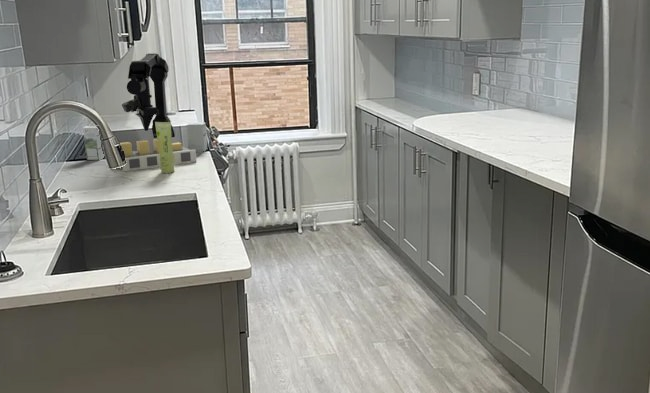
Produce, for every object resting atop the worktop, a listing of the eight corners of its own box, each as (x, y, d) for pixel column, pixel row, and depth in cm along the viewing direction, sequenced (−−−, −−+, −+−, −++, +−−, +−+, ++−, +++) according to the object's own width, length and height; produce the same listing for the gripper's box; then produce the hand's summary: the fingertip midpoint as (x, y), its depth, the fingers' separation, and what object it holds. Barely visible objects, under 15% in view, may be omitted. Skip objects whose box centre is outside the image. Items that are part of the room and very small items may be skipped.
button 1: (171, 158, 264) (169, 143, 262) (180, 156, 266) (178, 142, 264) (174, 159, 260) (172, 144, 259) (183, 158, 262) (181, 143, 261)
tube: (160, 173, 235) (155, 123, 230) (159, 171, 240) (154, 121, 234) (175, 172, 237) (170, 122, 231) (174, 169, 241) (169, 120, 236)
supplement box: (204, 152, 275) (202, 124, 272) (188, 152, 275) (185, 124, 272) (207, 149, 282) (205, 121, 279) (191, 149, 282) (189, 122, 279)
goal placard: (122, 170, 242) (121, 158, 240) (195, 161, 257) (194, 149, 255) (123, 171, 241) (122, 158, 239) (196, 161, 256) (195, 149, 254)
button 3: (137, 156, 256) (136, 141, 254) (147, 155, 258) (145, 140, 256) (140, 157, 253) (138, 142, 251) (150, 156, 255) (148, 141, 253)
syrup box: (105, 157, 267) (101, 124, 263) (99, 160, 262) (95, 127, 258) (92, 157, 268) (88, 124, 264) (86, 160, 262) (82, 127, 258)
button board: (112, 163, 256) (111, 153, 255) (181, 154, 271) (181, 145, 270) (120, 169, 244) (119, 159, 243) (192, 159, 259) (192, 150, 258)
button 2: (154, 154, 259) (153, 139, 258) (163, 153, 261) (162, 138, 260) (157, 155, 256) (155, 140, 254) (166, 154, 258) (165, 139, 256)
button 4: (120, 158, 252) (119, 143, 251) (130, 157, 254) (129, 141, 253) (123, 159, 249) (121, 144, 247) (133, 158, 251) (131, 143, 249)
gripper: (116, 92, 252) (120, 130, 256) (129, 95, 237) (133, 135, 241) (143, 90, 258) (146, 127, 262) (157, 93, 243) (160, 132, 247)
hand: (146, 130), depth 253 cm, fingers closed
